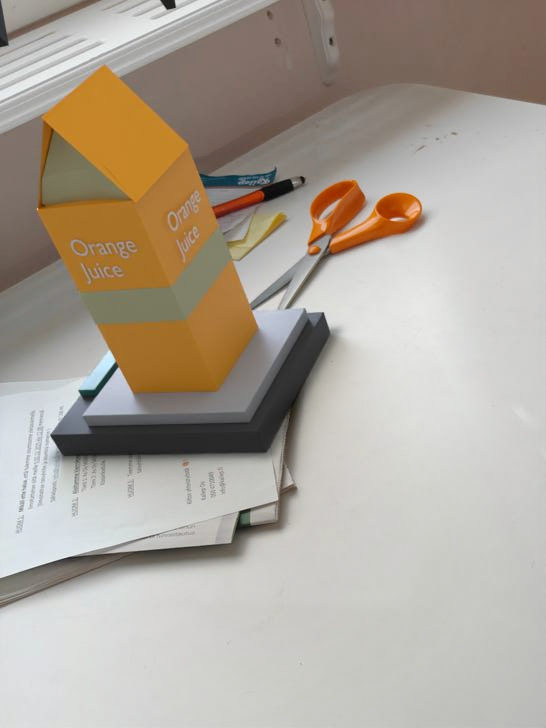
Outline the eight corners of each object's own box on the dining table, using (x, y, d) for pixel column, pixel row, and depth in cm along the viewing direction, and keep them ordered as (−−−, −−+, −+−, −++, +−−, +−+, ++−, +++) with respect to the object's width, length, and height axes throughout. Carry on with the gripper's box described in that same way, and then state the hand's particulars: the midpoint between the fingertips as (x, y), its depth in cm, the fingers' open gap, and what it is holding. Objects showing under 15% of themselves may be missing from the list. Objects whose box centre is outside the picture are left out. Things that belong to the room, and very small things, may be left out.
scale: (62, 455, 76) (42, 424, 74) (146, 341, 86) (131, 311, 84) (266, 452, 71) (252, 419, 69) (330, 332, 81) (320, 300, 79)
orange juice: (130, 393, 75) (-12, 124, 60) (177, 330, 80) (57, 69, 65) (219, 391, 72) (94, 111, 58) (261, 326, 78) (156, 56, 63)
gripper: (207, -269, 74) (253, 11, 75) (-93, -194, 76) (-45, 77, 77) (167, -365, 66) (218, -51, 67) (-165, -277, 69) (-110, 24, 70)
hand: (78, 18), depth 72 cm, fingers open, 13 cm apart
